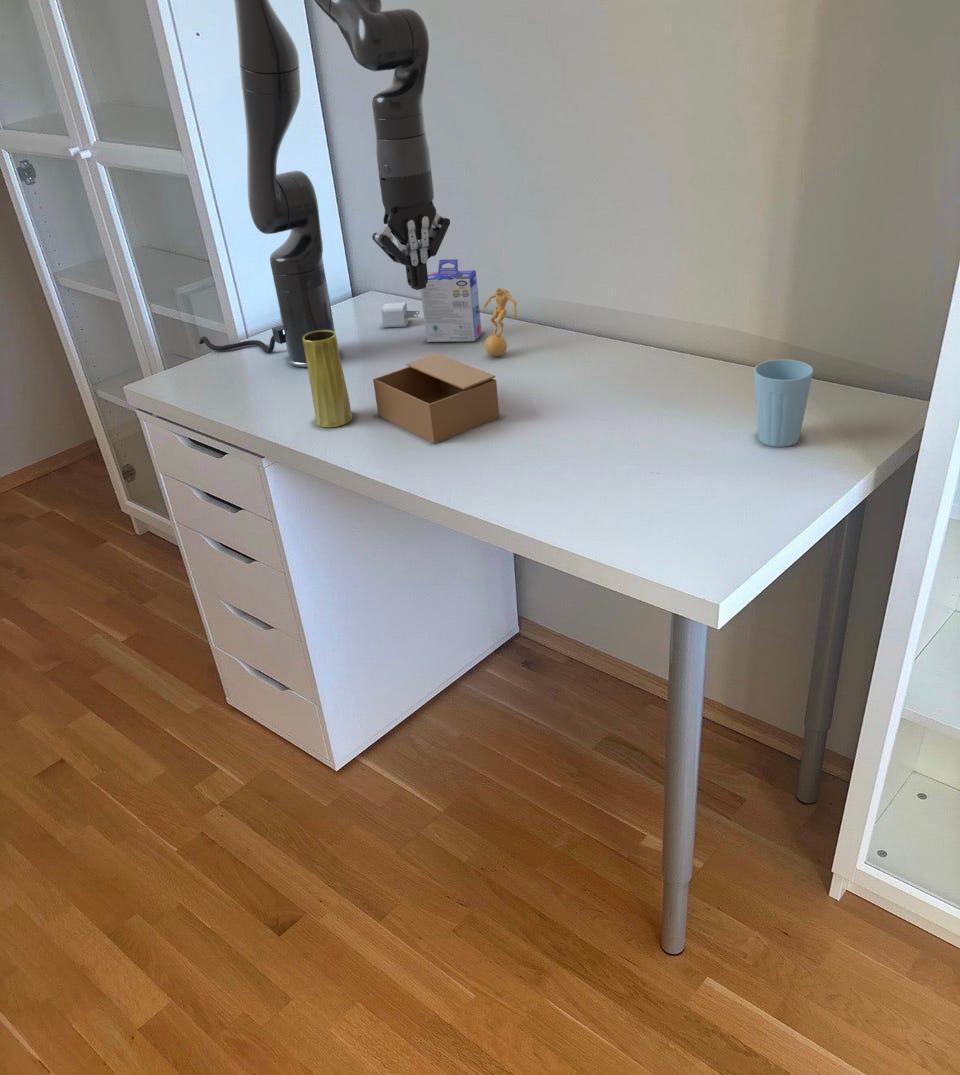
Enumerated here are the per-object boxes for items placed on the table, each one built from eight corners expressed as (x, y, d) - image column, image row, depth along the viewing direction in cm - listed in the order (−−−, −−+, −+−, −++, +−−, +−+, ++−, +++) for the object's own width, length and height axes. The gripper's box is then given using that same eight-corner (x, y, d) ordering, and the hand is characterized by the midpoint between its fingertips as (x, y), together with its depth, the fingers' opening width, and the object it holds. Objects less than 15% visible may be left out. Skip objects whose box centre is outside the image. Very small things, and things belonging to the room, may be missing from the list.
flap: (406, 365, 159) (405, 363, 159) (436, 354, 162) (436, 352, 162) (463, 389, 148) (463, 387, 148) (495, 377, 151) (495, 375, 151)
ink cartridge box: (483, 332, 190) (476, 256, 183) (477, 342, 185) (469, 265, 178) (433, 333, 192) (424, 258, 185) (426, 343, 188) (416, 267, 180)
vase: (322, 431, 156) (306, 345, 149) (310, 418, 161) (294, 334, 154) (358, 421, 158) (344, 335, 151) (345, 409, 163) (331, 325, 156)
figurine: (472, 355, 180) (466, 290, 174) (495, 345, 183) (490, 281, 177) (505, 363, 175) (500, 297, 168) (528, 353, 178) (524, 287, 172)
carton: (378, 415, 160) (372, 379, 157) (441, 392, 166) (437, 356, 163) (434, 443, 149) (429, 405, 145) (499, 417, 155) (496, 379, 152)
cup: (748, 449, 138) (752, 378, 133) (752, 426, 144) (756, 358, 139) (805, 452, 136) (811, 381, 130) (807, 428, 142) (813, 359, 136)
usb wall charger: (387, 322, 201) (385, 302, 199) (421, 320, 200) (418, 301, 198) (383, 328, 197) (381, 309, 195) (418, 327, 196) (415, 307, 194)
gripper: (427, 157, 147) (439, 273, 156) (351, 174, 140) (368, 294, 149) (457, 162, 142) (468, 282, 151) (380, 180, 135) (396, 304, 144)
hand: (418, 288), depth 150 cm, fingers closed
